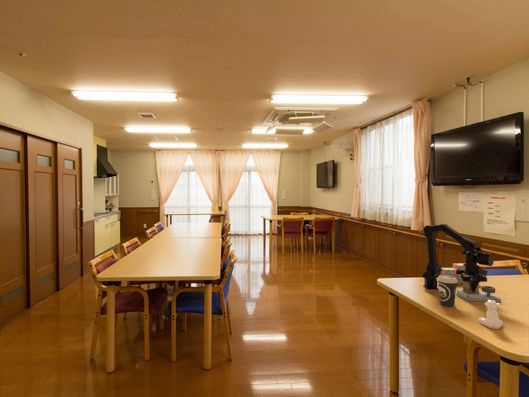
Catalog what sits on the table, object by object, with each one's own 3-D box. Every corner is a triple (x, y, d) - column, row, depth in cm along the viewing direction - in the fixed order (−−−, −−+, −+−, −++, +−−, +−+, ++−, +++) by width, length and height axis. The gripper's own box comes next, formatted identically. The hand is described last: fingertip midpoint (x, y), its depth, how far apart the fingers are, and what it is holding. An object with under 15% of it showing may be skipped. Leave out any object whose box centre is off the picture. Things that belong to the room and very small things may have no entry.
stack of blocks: (444, 283, 212) (445, 265, 212) (439, 281, 218) (439, 263, 218) (476, 283, 213) (476, 265, 213) (470, 281, 219) (470, 263, 219)
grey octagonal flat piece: (486, 293, 179) (486, 288, 179) (479, 290, 185) (479, 285, 185) (497, 293, 179) (497, 288, 179) (489, 290, 185) (489, 285, 185)
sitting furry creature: (502, 324, 145) (502, 298, 144) (508, 332, 137) (508, 304, 137) (477, 321, 148) (478, 295, 148) (482, 328, 140) (482, 301, 140)
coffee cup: (457, 309, 164) (457, 280, 164) (436, 305, 169) (436, 277, 169) (457, 304, 172) (458, 276, 172) (437, 300, 177) (437, 273, 177)
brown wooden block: (468, 293, 179) (468, 283, 179) (463, 290, 184) (463, 281, 184) (478, 293, 180) (479, 283, 179) (473, 290, 184) (473, 281, 184)
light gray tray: (468, 301, 176) (468, 292, 176) (456, 295, 187) (456, 286, 187) (500, 301, 176) (500, 292, 176) (486, 295, 187) (486, 286, 187)
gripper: (497, 266, 172) (496, 295, 172) (474, 259, 191) (474, 285, 191) (476, 266, 172) (476, 295, 172) (455, 259, 191) (455, 285, 191)
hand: (470, 290), depth 182 cm, fingers closed on brown wooden block, 4 cm apart
